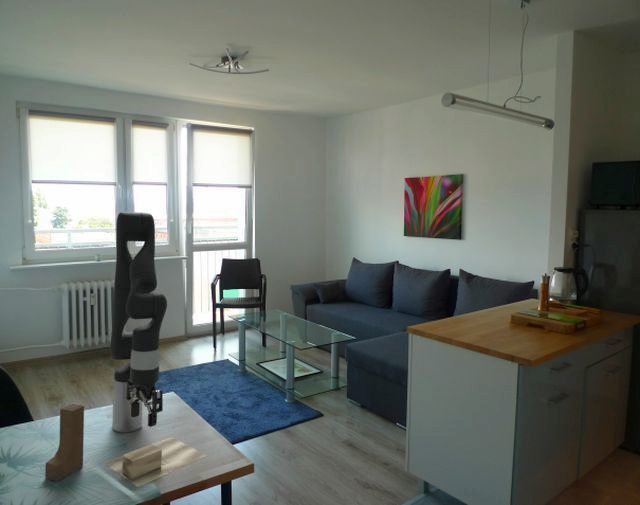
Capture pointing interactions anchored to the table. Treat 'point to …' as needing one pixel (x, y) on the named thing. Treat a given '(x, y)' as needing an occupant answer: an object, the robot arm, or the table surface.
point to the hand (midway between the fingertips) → (143, 421)
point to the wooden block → (68, 444)
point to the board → (163, 460)
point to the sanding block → (141, 462)
